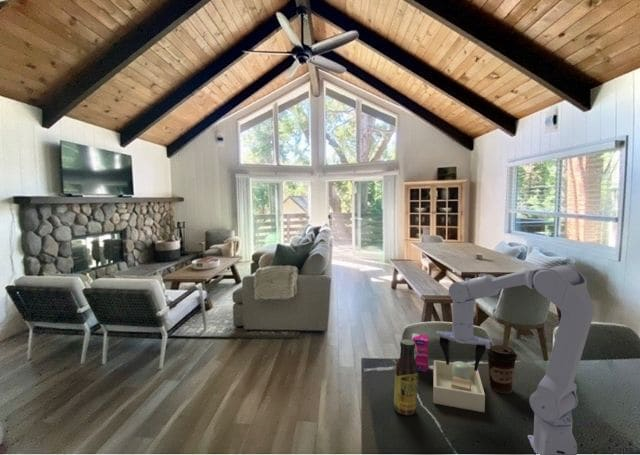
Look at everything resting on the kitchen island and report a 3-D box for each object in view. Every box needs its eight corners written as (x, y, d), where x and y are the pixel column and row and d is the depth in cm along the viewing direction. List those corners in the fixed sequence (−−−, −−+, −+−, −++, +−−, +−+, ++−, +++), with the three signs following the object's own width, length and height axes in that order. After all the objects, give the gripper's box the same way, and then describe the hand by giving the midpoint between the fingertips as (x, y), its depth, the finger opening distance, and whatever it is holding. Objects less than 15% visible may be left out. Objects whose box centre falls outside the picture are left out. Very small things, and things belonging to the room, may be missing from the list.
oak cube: (469, 405, 94) (470, 388, 93) (451, 400, 96) (451, 384, 96) (470, 396, 98) (471, 380, 98) (452, 392, 100) (453, 376, 100)
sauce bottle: (400, 418, 89) (401, 348, 88) (389, 405, 95) (390, 339, 94) (421, 414, 91) (422, 345, 89) (409, 401, 97) (410, 336, 95)
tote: (484, 412, 91) (485, 395, 91) (433, 403, 96) (433, 386, 95) (476, 380, 108) (477, 366, 108) (433, 374, 112) (433, 360, 112)
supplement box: (410, 370, 115) (411, 338, 114) (411, 362, 121) (411, 332, 120) (428, 372, 113) (428, 340, 112) (427, 364, 119) (428, 334, 118)
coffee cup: (521, 398, 98) (522, 356, 97) (491, 395, 100) (492, 354, 99) (510, 382, 106) (511, 344, 106) (482, 380, 108) (483, 342, 107)
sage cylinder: (472, 390, 101) (473, 369, 100) (457, 392, 100) (458, 370, 100) (463, 380, 106) (463, 360, 105) (448, 382, 105) (449, 362, 104)
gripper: (434, 321, 96) (433, 366, 97) (490, 330, 89) (488, 378, 90) (438, 314, 102) (437, 356, 103) (490, 322, 95) (489, 367, 96)
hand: (461, 366), depth 97 cm, fingers open, 7 cm apart
